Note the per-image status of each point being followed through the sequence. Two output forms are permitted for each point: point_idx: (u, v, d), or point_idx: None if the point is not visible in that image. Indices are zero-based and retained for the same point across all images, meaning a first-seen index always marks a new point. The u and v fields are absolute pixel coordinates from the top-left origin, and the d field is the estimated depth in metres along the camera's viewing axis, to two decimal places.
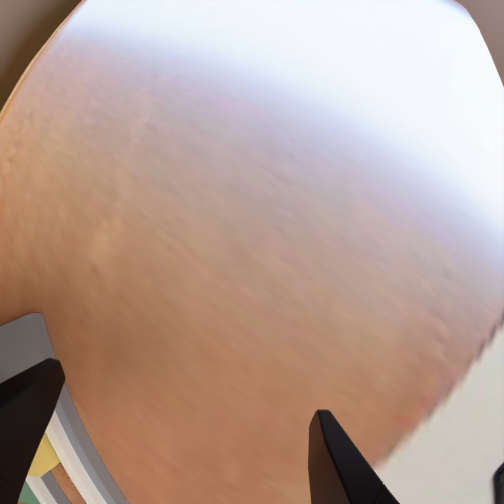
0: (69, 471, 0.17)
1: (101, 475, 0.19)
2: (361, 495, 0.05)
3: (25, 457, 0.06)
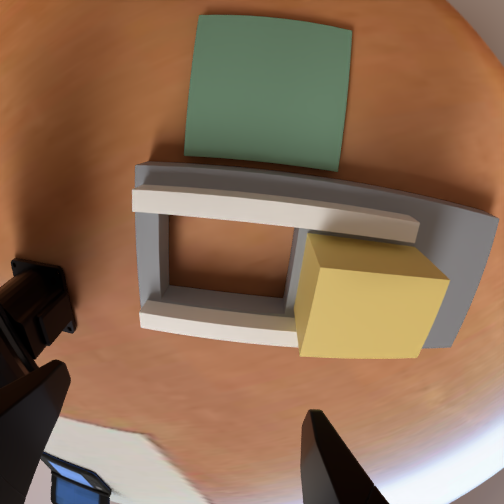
0: (277, 335, 0.18)
1: None
2: (351, 496, 0.05)
3: (30, 460, 0.06)
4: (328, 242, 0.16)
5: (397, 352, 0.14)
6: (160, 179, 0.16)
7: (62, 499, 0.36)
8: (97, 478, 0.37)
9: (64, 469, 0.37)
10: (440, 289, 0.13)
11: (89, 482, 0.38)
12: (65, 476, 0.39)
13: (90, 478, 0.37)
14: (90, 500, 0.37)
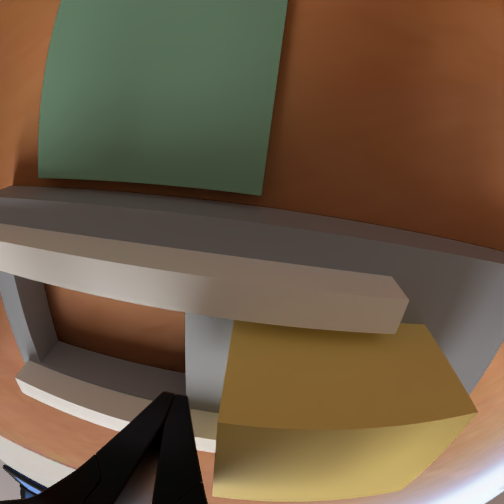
0: None
1: None
2: (173, 487, 0.05)
3: None
4: (266, 334, 0.09)
5: (370, 491, 0.07)
6: (5, 216, 0.09)
7: None
8: None
9: (29, 485, 0.30)
10: (457, 426, 0.06)
11: None
12: (32, 491, 0.32)
13: None
14: None
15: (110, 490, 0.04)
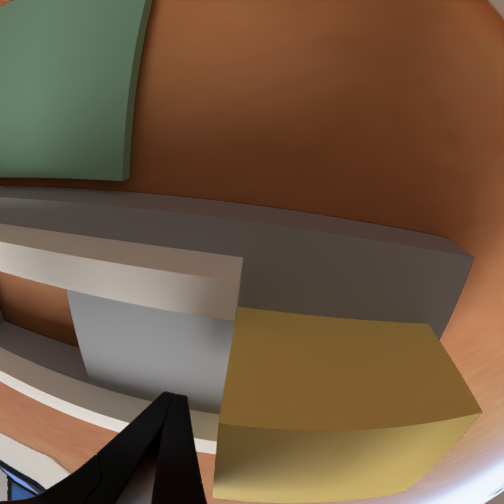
0: (73, 408, 0.11)
1: None
2: (172, 487, 0.05)
3: None
4: (268, 333, 0.08)
5: (372, 493, 0.07)
6: None
7: None
8: (40, 488, 0.30)
9: (13, 475, 0.30)
10: (462, 426, 0.06)
11: (35, 490, 0.31)
12: (18, 482, 0.32)
13: (34, 487, 0.30)
14: None
15: (111, 490, 0.04)
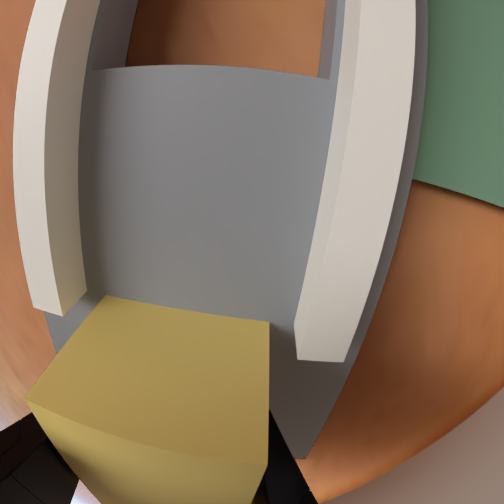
0: (44, 52, 0.04)
1: None
2: (283, 500, 0.05)
3: (70, 480, 0.06)
4: None
5: (103, 497, 0.06)
6: None
7: None
8: None
9: None
10: None
11: None
12: None
13: None
14: None
15: (25, 451, 0.04)
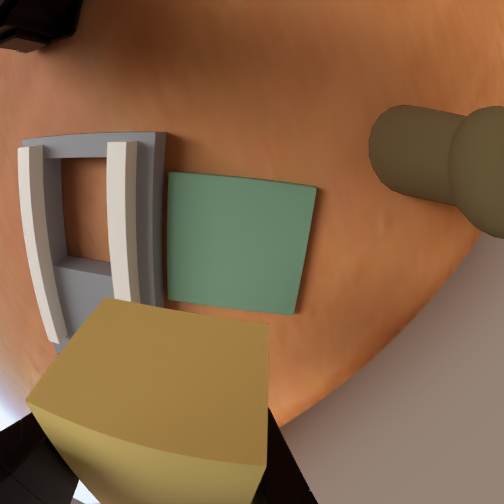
0: (37, 268, 0.18)
1: None
2: (283, 500, 0.05)
3: (70, 480, 0.06)
4: None
5: (103, 497, 0.06)
6: (141, 159, 0.16)
7: None
8: None
9: None
10: None
11: None
12: None
13: None
14: None
15: (25, 451, 0.04)
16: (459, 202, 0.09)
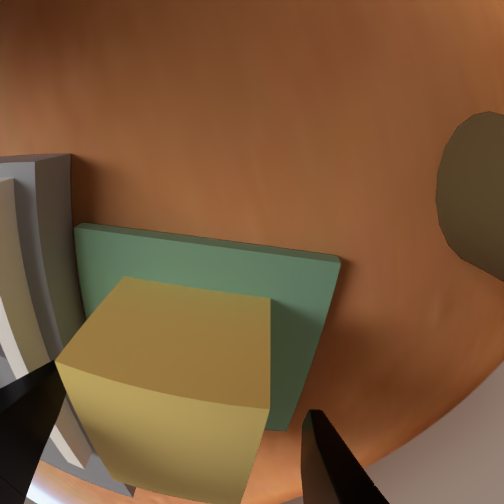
0: None
1: None
2: (351, 497, 0.05)
3: (30, 460, 0.06)
4: None
5: (115, 468, 0.08)
6: (21, 211, 0.07)
7: None
8: None
9: None
10: (224, 501, 0.08)
11: None
12: None
13: None
14: None
15: None
16: None
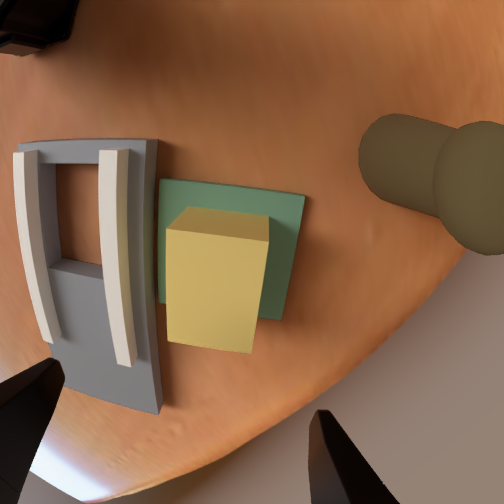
0: (31, 270, 0.18)
1: None
2: (361, 496, 0.05)
3: (25, 457, 0.06)
4: None
5: (174, 321, 0.16)
6: (132, 166, 0.16)
7: None
8: None
9: None
10: (242, 347, 0.17)
11: None
12: None
13: None
14: None
15: None
16: (442, 218, 0.09)
